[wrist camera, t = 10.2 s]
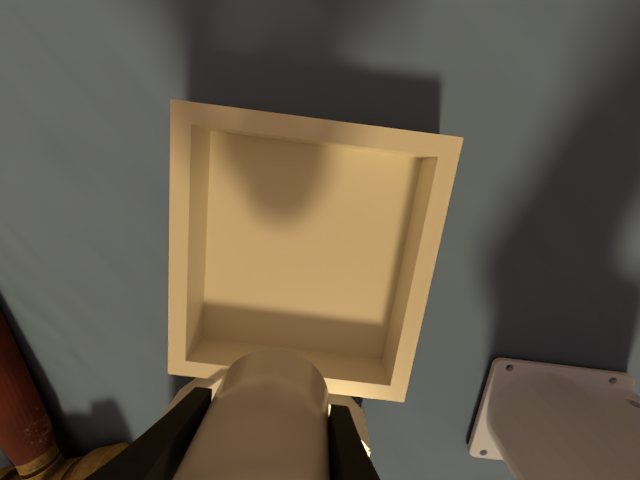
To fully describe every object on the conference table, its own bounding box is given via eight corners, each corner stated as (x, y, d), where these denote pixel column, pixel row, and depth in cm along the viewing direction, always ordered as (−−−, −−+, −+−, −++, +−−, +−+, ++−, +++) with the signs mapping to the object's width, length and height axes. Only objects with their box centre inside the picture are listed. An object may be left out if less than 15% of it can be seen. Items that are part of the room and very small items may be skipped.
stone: (335, 357, 12) (342, 470, 7) (320, 448, 13) (318, 597, 8) (223, 342, 11) (160, 446, 7) (216, 435, 12) (157, 578, 8)
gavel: (-193, 274, 17) (-36, 230, 16) (-81, 256, 21) (46, 221, 20) (-31, 571, 20) (106, 545, 19) (36, 500, 24) (149, 477, 23)
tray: (439, 143, 17) (463, 137, 14) (392, 368, 21) (403, 402, 18) (198, 111, 17) (170, 98, 14) (191, 343, 20) (167, 373, 17)
